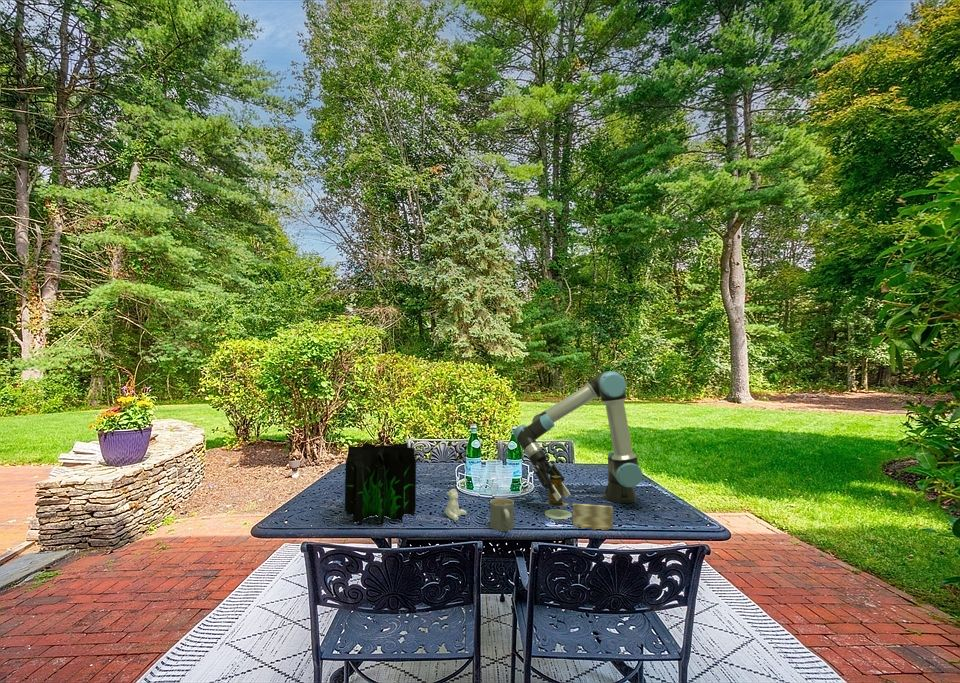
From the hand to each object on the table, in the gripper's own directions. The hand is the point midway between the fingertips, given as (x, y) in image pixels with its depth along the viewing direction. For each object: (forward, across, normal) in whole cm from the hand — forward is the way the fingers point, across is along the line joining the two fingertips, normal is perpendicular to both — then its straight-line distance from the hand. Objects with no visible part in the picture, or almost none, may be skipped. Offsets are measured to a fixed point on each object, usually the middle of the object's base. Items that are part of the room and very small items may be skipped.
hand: (563, 497), depth 193 cm
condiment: (0, 0, -5) cm, 5 cm away
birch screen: (+17, +1, +5) cm, 18 cm away
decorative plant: (-34, +58, -47) cm, 83 cm away
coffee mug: (-1, +29, -13) cm, 32 cm away
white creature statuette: (-17, +36, -30) cm, 50 cm away
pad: (+4, 0, -8) cm, 9 cm away
